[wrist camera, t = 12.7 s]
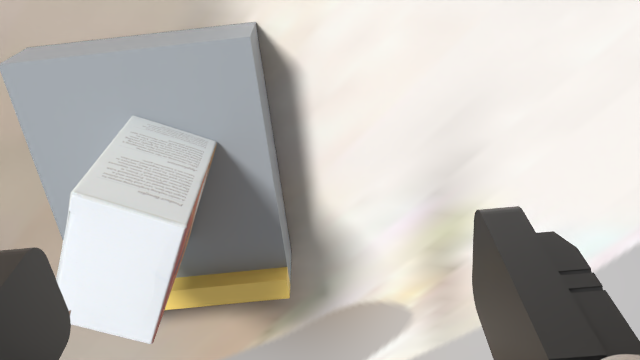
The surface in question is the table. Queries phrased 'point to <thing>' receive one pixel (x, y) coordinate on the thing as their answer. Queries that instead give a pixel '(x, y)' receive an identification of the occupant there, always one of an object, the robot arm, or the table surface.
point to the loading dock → (177, 112)
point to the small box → (132, 228)
